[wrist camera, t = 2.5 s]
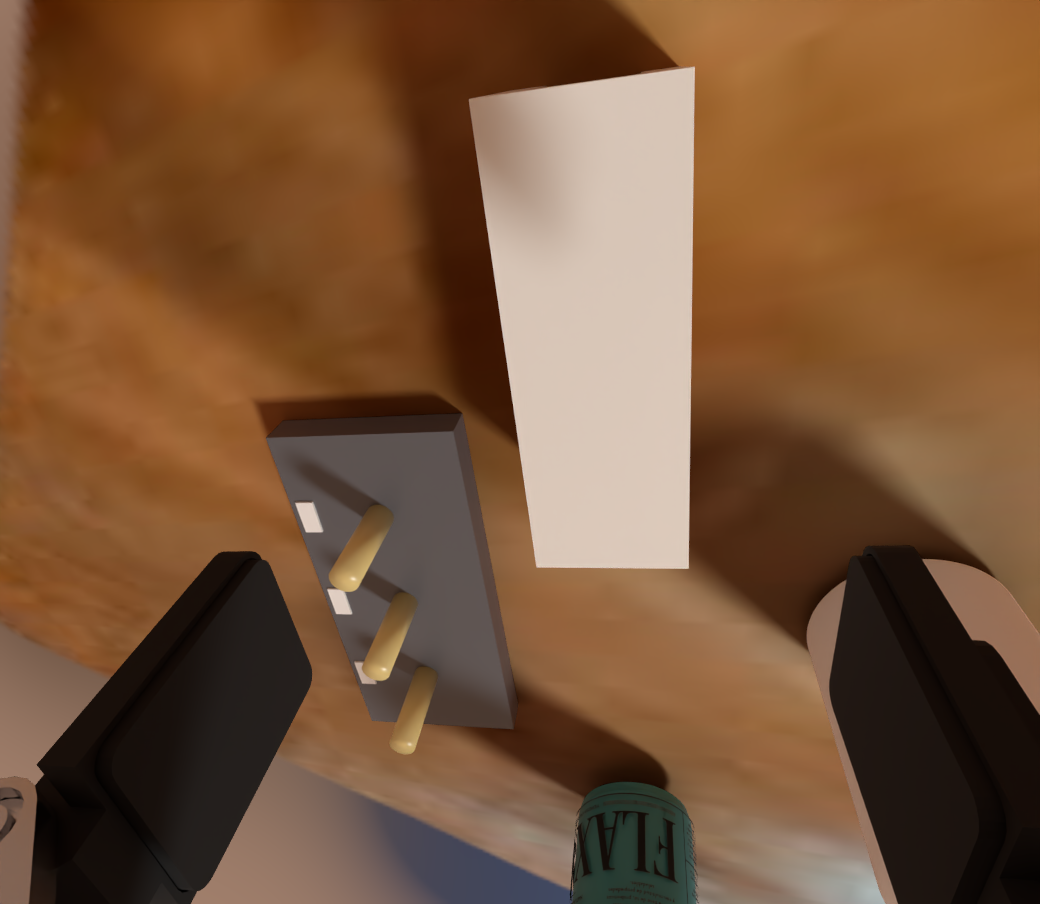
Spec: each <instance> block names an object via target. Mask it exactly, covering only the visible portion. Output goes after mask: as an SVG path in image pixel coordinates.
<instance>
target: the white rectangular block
mask: <svg viewBox="0 0 1040 904" xmlns="http://www.w3.org/2000/svg"><path fill="white" fill-rule="evenodd" d="M694 78H695V67H681V66H679V67H672V68H665V69H658V70H651V71H644V72H641V74H635V75H628V76H621V77H614V78H607V79H600V80H593V81H586V82H579V83H572V84H565V85H558V86H551V87H547V85H546V86H539V87H532V88H525V89H518V90H511V91H506V92H501V93H496V94H491V95H486V96H481V97H476V98H471V99H469V106H470V113H471V120H472V126H473V133H474V140H475V147H476V154H477V161H478V168H479V175H480V181H481V188H482V195H483V202H484V209H485V216H486V223H487V230H488V236H489V243H490V250H491V257H492V264H493V271H494V278H495V285H496V291H497V298H498V305H499V312H500V319H501V326H502V333H503V340H504V346H505V353H506V360H507V367H508V374H509V381H510V388H511V395H512V402H513V408H514V415H515V422H516V429H517V436H518V443H519V450H520V457H521V463H522V470H523V477H524V484H525V491H526V498H527V505H528V512H529V518H530V525H531V532H532V539H533V546H534V553H535V560H536V567H558V568H673V569H689V494H690V411H691V328H692V244H693V161H694Z"/></svg>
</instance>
